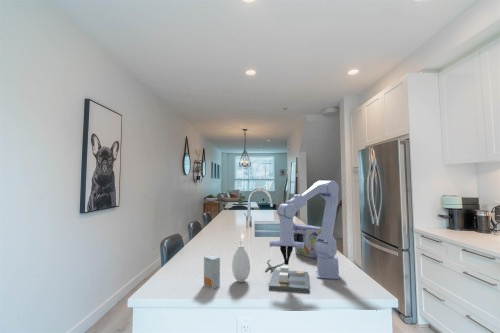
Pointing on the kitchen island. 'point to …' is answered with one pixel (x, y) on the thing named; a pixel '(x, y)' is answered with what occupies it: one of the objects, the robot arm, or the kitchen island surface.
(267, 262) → the pliers
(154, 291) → the kitchen island surface
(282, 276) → the white rectangular block
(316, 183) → the robot arm
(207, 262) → the skincare box
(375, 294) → the kitchen island surface
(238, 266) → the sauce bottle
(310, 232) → the cake pan box
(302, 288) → the panel
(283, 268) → the far tab
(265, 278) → the kitchen island surface
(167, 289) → the kitchen island surface
